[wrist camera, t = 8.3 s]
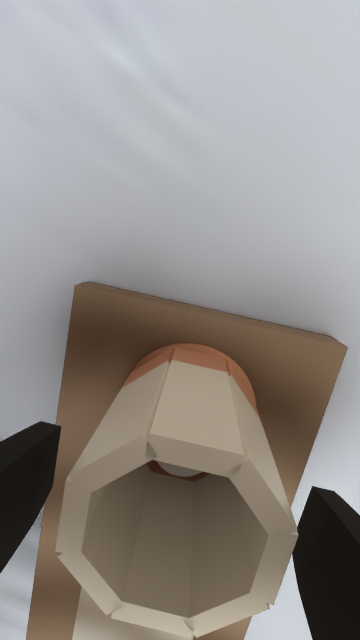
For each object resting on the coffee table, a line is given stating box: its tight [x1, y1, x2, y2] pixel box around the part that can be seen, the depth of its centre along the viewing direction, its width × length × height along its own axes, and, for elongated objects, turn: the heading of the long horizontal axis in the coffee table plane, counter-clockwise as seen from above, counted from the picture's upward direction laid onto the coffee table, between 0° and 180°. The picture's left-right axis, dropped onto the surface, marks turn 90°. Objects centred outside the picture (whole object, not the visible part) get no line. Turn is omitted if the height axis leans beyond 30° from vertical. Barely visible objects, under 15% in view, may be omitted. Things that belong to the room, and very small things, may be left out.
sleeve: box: [55, 347, 299, 638], centre depth 10 cm, size 5×5×6 cm
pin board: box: [26, 282, 348, 640], centre depth 14 cm, size 21×11×4 cm, turn 168°
